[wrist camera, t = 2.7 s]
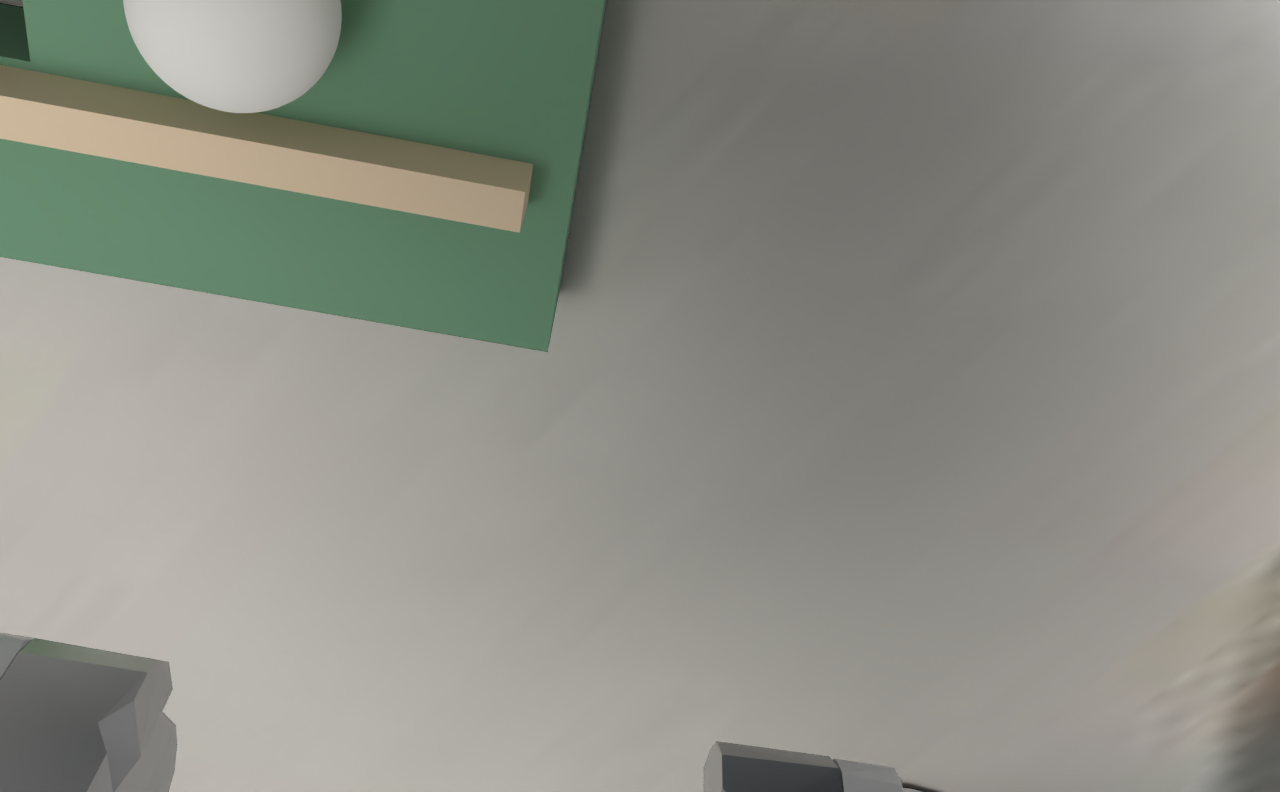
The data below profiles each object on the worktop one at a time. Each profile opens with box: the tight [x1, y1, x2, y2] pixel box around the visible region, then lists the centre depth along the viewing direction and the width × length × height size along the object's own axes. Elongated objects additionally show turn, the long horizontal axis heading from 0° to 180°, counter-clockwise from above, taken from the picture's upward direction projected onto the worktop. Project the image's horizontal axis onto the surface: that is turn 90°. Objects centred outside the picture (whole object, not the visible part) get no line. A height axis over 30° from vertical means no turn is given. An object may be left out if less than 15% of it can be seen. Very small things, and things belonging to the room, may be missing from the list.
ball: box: [123, 0, 342, 113], centre depth 22 cm, size 4×4×4 cm
